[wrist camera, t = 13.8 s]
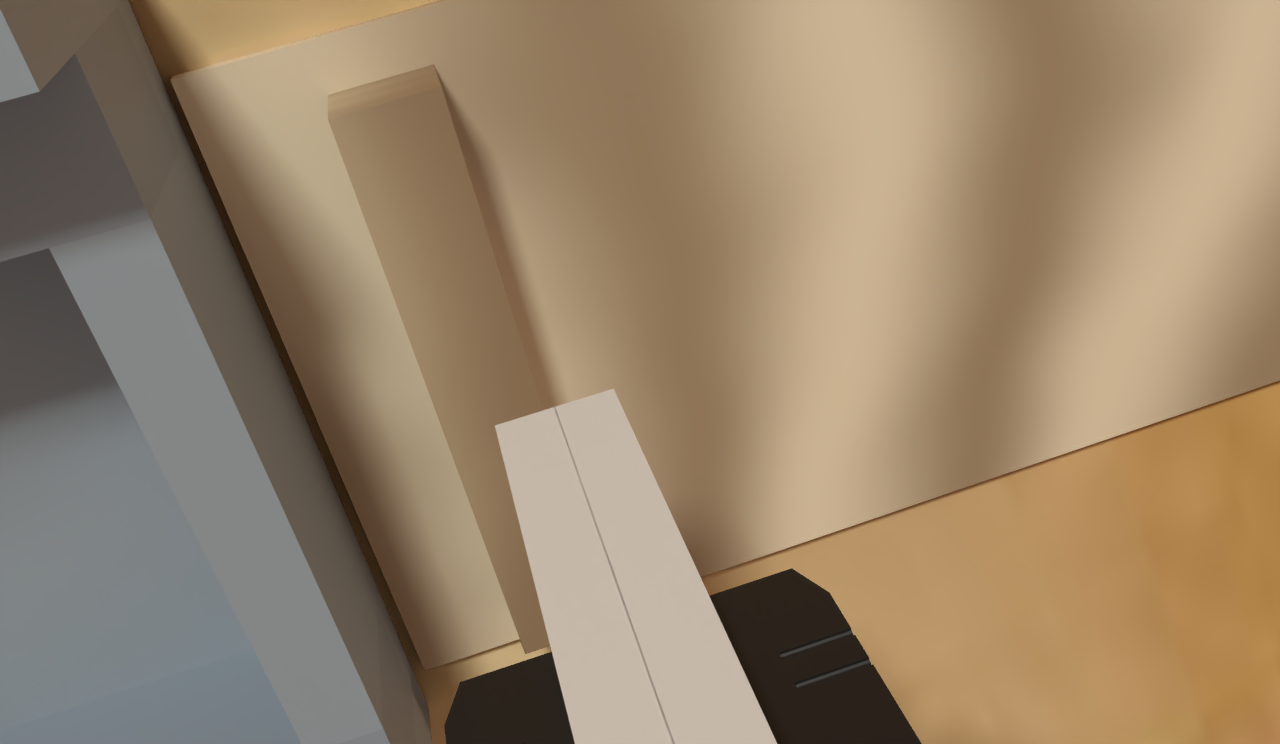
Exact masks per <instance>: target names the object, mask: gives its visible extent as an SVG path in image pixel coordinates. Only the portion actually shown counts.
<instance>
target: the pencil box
mask: <svg viewBox="0 0 1280 744" xmlns="http://www.w3.org/2000/svg"><path fill="white" fill-rule="evenodd" d="M0 744H432V739H431V729H430V720H429V710H428V705H427V703H426V700H425V698H424V696H423V693H422V691H421V689H420V686H419V684H418V681H417V679H416V677H415V674H414V672H413V670H412V667H411V665H410V663H409V660H408V658H407V656H406V653H405V651H404V648H403V646H402V644H401V641H400V639H399V637H398V634H397V632H396V630H395V627H394V625H393V623H392V620H391V618H390V616H389V613H388V611H387V608H386V606H385V604H384V601H383V599H382V597H381V594H380V592H379V590H378V587H377V585H376V583H375V580H374V578H373V575H372V573H371V571H370V568H369V566H368V564H367V561H366V559H365V557H364V554H363V552H362V550H361V547H360V545H359V542H358V540H357V538H356V535H355V533H354V531H353V528H352V526H351V524H350V521H349V519H348V517H347V514H346V512H345V509H344V507H343V505H342V502H341V500H340V498H339V495H338V493H337V491H336V488H335V486H334V484H333V481H332V479H331V476H330V474H329V472H328V469H327V467H326V465H325V462H324V460H323V458H322V455H321V453H320V451H319V448H318V446H317V443H316V441H315V439H314V436H313V434H312V432H311V429H310V427H309V425H308V422H307V420H306V418H305V415H304V413H303V411H302V408H301V406H300V403H299V401H298V399H297V396H296V394H295V392H294V389H293V387H292V385H291V382H290V380H289V378H288V375H287V373H286V370H285V368H284V366H283V363H282V361H281V359H280V356H279V354H278V352H277V349H276V347H275V345H274V342H273V340H272V337H271V335H270V333H269V330H268V328H267V326H266V323H265V321H264V319H263V316H262V314H261V312H260V309H259V307H258V304H257V302H256V300H255V297H254V295H253V293H252V290H251V288H250V286H249V283H248V281H247V279H246V276H245V274H244V271H243V269H242V267H241V264H240V262H239V260H238V257H237V255H236V253H235V250H234V248H233V246H232V243H231V241H230V239H229V236H228V234H227V231H226V229H225V227H224V224H223V222H222V220H221V217H220V215H219V213H218V210H217V208H216V206H215V203H214V201H213V198H212V196H211V194H210V191H209V189H208V187H207V184H206V182H205V180H204V177H203V175H202V173H201V170H200V168H199V165H198V163H197V161H196V158H195V156H194V154H193V151H192V149H191V147H190V144H189V142H188V140H187V137H186V135H185V132H184V130H183V128H182V125H181V123H180V121H179V118H178V116H177V114H176V111H175V109H174V107H173V104H172V102H171V99H170V97H169V95H168V92H167V90H166V88H165V85H164V83H163V81H162V78H161V76H160V74H159V71H158V69H157V66H156V64H155V62H154V59H153V57H152V55H151V52H150V50H149V48H148V45H147V43H146V41H145V38H144V36H143V34H142V31H141V29H140V26H139V24H138V22H137V19H136V17H135V15H134V12H133V10H132V8H131V5H130V3H129V1H128V0H0Z"/></svg>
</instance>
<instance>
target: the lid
mask: <svg viewBox="0 0 1280 744" xmlns="http://www.w3.org/2000/svg"><path fill="white" fill-rule="evenodd" d="M170 81H171V83H172V86H173V88H174V90H175V93H176V95H177V97H178V100H179V102H180V104H181V107H182V109H183V111H184V114H185V116H186V118H187V120H188V123H189V125H190V127H191V130H192V132H193V134H194V137H195V139H196V141H197V144H198V146H199V148H200V151H201V153H202V155H203V158H204V160H205V162H206V165H207V167H208V169H209V172H210V174H211V176H212V179H213V181H214V183H215V185H216V188H217V190H218V192H219V195H220V197H221V199H222V202H223V204H224V206H225V209H226V211H227V213H228V216H229V218H230V220H231V223H232V225H233V227H234V230H235V232H236V234H237V237H238V239H239V241H240V243H241V246H242V248H243V250H244V253H245V255H246V257H247V260H248V262H249V264H250V267H251V269H252V271H253V274H254V276H255V278H256V281H257V283H258V285H259V288H260V290H261V292H262V295H263V297H264V299H265V301H266V304H267V306H268V308H269V311H270V313H271V315H272V318H273V320H274V322H275V325H276V327H277V329H278V332H279V334H280V336H281V339H282V341H283V343H284V346H285V348H286V350H287V353H288V355H289V357H290V359H291V362H292V364H293V366H294V369H295V371H296V373H297V376H298V378H299V380H300V383H301V385H302V387H303V390H304V392H305V394H306V397H307V399H308V401H309V404H310V406H311V408H312V411H313V413H314V415H315V417H316V420H317V422H318V424H319V427H320V429H321V431H322V434H323V436H324V438H325V441H326V443H327V445H328V448H329V450H330V452H331V455H332V457H333V459H334V462H335V464H336V466H337V469H338V471H339V473H340V476H341V478H342V480H343V482H344V485H345V487H346V489H347V492H348V494H349V496H350V499H351V501H352V503H353V506H354V508H355V510H356V513H357V515H358V517H359V520H360V522H361V524H362V527H363V529H364V531H365V534H366V536H367V538H368V540H369V543H370V545H371V547H372V550H373V552H374V554H375V557H376V559H377V561H378V564H379V566H380V568H381V571H382V573H383V575H384V578H385V580H386V582H387V585H388V587H389V589H390V592H391V594H392V596H393V598H394V601H395V603H396V605H397V608H398V610H399V612H400V615H401V617H402V619H403V622H404V624H405V626H406V629H407V631H408V633H409V636H410V638H411V640H412V643H413V645H414V647H415V650H416V652H417V654H418V656H419V659H420V661H421V663H422V666H423V668H424V670H425V671H427V670H430V669H433V668H436V667H439V666H442V665H445V664H448V663H450V662H453V661H456V660H459V659H462V658H465V657H468V656H471V655H474V654H477V653H480V652H483V651H486V650H489V649H492V648H495V647H498V646H500V645H503V644H506V643H509V642H512V641H515V640H518V639H520V641H521V644H522V646H523V649H524V652H525V654H527V653H530V652H533V651H536V650H539V649H542V648H545V647H548V646H550V643H549V639H548V635H547V631H546V627H545V623H544V619H543V615H542V611H541V607H540V603H539V599H538V595H537V591H536V587H535V583H534V579H533V575H532V572H531V568H530V564H529V560H528V556H527V552H526V548H525V544H524V540H523V536H522V532H521V528H520V524H519V520H518V516H517V512H516V508H515V504H514V500H513V496H512V492H511V488H510V484H509V480H508V476H507V472H506V468H505V464H504V461H503V457H502V453H501V449H500V445H499V441H498V437H497V433H496V429H495V425H498V424H501V423H505V422H508V421H511V420H514V419H517V418H521V417H524V416H527V415H530V414H533V413H537V412H540V411H543V410H546V409H549V408H553V407H556V406H559V405H562V404H565V403H569V402H572V401H575V400H578V399H582V398H585V397H588V396H591V395H594V394H598V393H601V392H604V391H607V390H610V389H614V391H615V393H616V395H617V397H618V399H619V401H620V404H621V406H622V408H623V410H624V412H625V415H626V417H627V419H628V421H629V423H630V425H631V428H632V430H633V432H634V434H635V436H636V438H637V441H638V443H639V445H640V447H641V449H642V451H643V454H644V456H645V458H646V460H647V462H648V464H649V467H650V469H651V471H652V473H653V475H654V477H655V480H656V482H657V484H658V486H659V488H660V490H661V493H662V495H663V497H664V499H665V501H666V503H667V506H668V508H669V510H670V512H671V514H672V516H673V519H674V521H675V523H676V525H677V527H678V529H679V532H680V534H681V536H682V538H683V540H684V542H685V545H686V547H687V549H688V551H689V553H690V555H691V558H692V560H693V562H694V564H695V566H696V568H697V571H698V573H699V575H700V577H703V576H706V575H709V574H712V573H715V572H718V571H721V570H724V569H727V568H730V567H733V566H736V565H739V564H742V563H745V562H747V561H750V560H753V559H756V558H759V557H762V556H765V555H768V554H771V553H774V552H777V551H780V550H783V549H786V548H789V547H792V546H795V545H797V544H800V543H803V542H806V541H809V540H812V539H815V538H818V537H821V536H824V535H827V534H830V533H833V532H836V531H839V530H842V529H845V528H847V527H850V526H853V525H856V524H859V523H862V522H865V521H868V520H871V519H874V518H877V517H880V516H883V515H886V514H889V513H892V512H895V511H897V510H900V509H903V508H906V507H909V506H912V505H915V504H918V503H921V502H924V501H927V500H930V499H933V498H936V497H939V496H942V495H944V494H947V493H950V492H953V491H956V490H959V489H962V488H965V487H968V486H971V485H974V484H977V483H980V482H983V481H986V480H989V479H992V478H994V477H997V476H1000V475H1003V474H1006V473H1009V472H1012V471H1015V470H1018V469H1021V468H1024V467H1027V466H1030V465H1033V464H1036V463H1039V462H1042V461H1044V460H1047V459H1050V458H1053V457H1056V456H1059V455H1062V454H1065V453H1068V452H1071V451H1074V450H1077V449H1080V448H1083V447H1086V446H1089V445H1092V444H1094V443H1097V442H1100V441H1103V440H1106V439H1109V438H1112V437H1115V436H1118V435H1121V434H1124V433H1127V432H1130V431H1133V430H1136V429H1139V428H1141V427H1144V426H1147V425H1150V424H1153V423H1156V422H1159V421H1162V420H1165V419H1168V418H1171V417H1174V416H1177V415H1180V414H1183V413H1186V412H1189V411H1191V410H1194V409H1197V408H1200V407H1203V406H1206V405H1209V404H1212V403H1215V402H1218V401H1221V400H1224V399H1227V398H1230V397H1233V396H1236V395H1239V394H1241V393H1244V392H1247V391H1250V390H1253V389H1256V388H1259V387H1262V386H1265V385H1268V384H1271V383H1274V382H1277V381H1280V0H440V1H436V2H433V3H429V4H425V5H422V6H418V7H415V8H411V9H408V10H404V11H401V12H397V13H394V14H390V15H387V16H383V17H380V18H376V19H372V20H369V21H365V22H362V23H358V24H355V25H351V26H348V27H344V28H341V29H337V30H334V31H330V32H327V33H323V34H320V35H316V36H312V37H309V38H305V39H302V40H298V41H295V42H291V43H288V44H284V45H281V46H277V47H274V48H270V49H267V50H263V51H259V52H256V53H252V54H249V55H245V56H242V57H238V58H235V59H231V60H228V61H224V62H221V63H217V64H214V65H210V66H207V67H203V68H199V69H196V70H192V71H189V72H185V73H182V74H178V75H175V76H172V78H171V80H170Z"/></svg>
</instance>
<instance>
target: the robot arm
mask: <svg viewBox="0 0 1280 744" xmlns="http://www.w3.org/2000/svg"><path fill="white" fill-rule="evenodd" d="M495 429H496V433H497V437H498V441H499V445H500V449H501V453H502V457H503V461H504V464H505V468H506V472H507V476H508V480H509V484H510V488H511V492H512V496H513V500H514V504H515V508H516V512H517V516H518V520H519V524H520V528H521V532H522V536H523V540H524V544H525V548H526V552H527V556H528V560H529V564H530V568H531V572H532V575H533V579H534V583H535V587H536V591H537V595H538V599H539V603H540V607H541V611H542V615H543V619H544V623H545V627H546V631H547V635H548V639H549V643H550V647H551V651H552V652H550V653H547V654H544V655H541V656H538V657H535V658H532V659H529V660H526V661H523V662H520V663H517V664H514V665H511V666H508V667H505V668H502V669H499V670H496V671H493V672H490V673H487V674H484V675H481V676H478V677H475V678H472V679H469V680H466V681H463V682H460V685H459V687H458V690H457V693H456V696H455V698H454V701H453V704H452V707H451V709H450V712H449V715H448V718H447V720H446V723H445V734H446V742H447V744H921V742H920V741H919V739H918V737H917V736H916V734H915V732H914V731H913V729H912V727H911V726H910V724H909V723H908V721H907V719H906V718H905V716H904V714H903V713H902V711H901V709H900V708H899V706H898V704H897V703H896V701H895V700H894V698H893V696H892V695H891V693H890V691H889V690H888V688H887V686H886V685H885V683H884V682H883V680H882V678H881V677H880V675H879V673H878V672H877V670H876V668H875V667H874V665H871V663H870V660H869V657H868V655H867V654H866V652H865V650H864V649H863V647H862V645H861V644H860V642H859V641H858V639H857V637H856V636H855V635H853V633H852V631H851V627H850V626H849V624H848V622H847V621H846V619H845V618H844V616H843V614H842V613H841V611H840V609H839V608H838V606H837V604H836V603H835V601H834V600H833V598H832V596H831V595H830V593H829V592H827V591H826V590H824V589H823V588H821V587H820V586H818V585H817V584H815V583H813V582H812V581H810V580H809V579H807V578H806V577H804V576H803V575H801V574H800V573H798V572H796V571H795V570H793V569H789V570H786V571H783V572H780V573H777V574H774V575H771V576H768V577H765V578H762V579H759V580H756V581H753V582H750V583H747V584H744V585H741V586H738V587H735V588H732V589H729V590H726V591H723V592H720V593H717V594H714V595H711V596H709V595H708V592H707V590H706V588H705V586H704V584H703V582H702V579H701V577H700V575H699V573H698V571H697V568H696V566H695V564H694V562H693V560H692V558H691V555H690V553H689V551H688V549H687V547H686V545H685V542H684V540H683V538H682V536H681V534H680V532H679V529H678V527H677V525H676V523H675V521H674V519H673V516H672V514H671V512H670V510H669V508H668V506H667V503H666V501H665V499H664V497H663V495H662V493H661V490H660V488H659V486H658V484H657V482H656V480H655V477H654V475H653V473H652V471H651V469H650V467H649V464H648V462H647V460H646V458H645V456H644V454H643V451H642V449H641V447H640V445H639V443H638V441H637V438H636V436H635V434H634V432H633V430H632V428H631V425H630V423H629V421H628V419H627V417H626V415H625V412H624V410H623V408H622V406H621V404H620V401H619V399H618V397H617V395H616V393H615V391H614V389H610V390H607V391H604V392H601V393H598V394H594V395H591V396H588V397H585V398H582V399H578V400H575V401H572V402H569V403H565V404H562V405H559V406H556V407H553V408H549V409H546V410H543V411H540V412H537V413H533V414H530V415H527V416H524V417H521V418H517V419H514V420H511V421H508V422H505V423H501V424H498V425H495Z"/></svg>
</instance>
